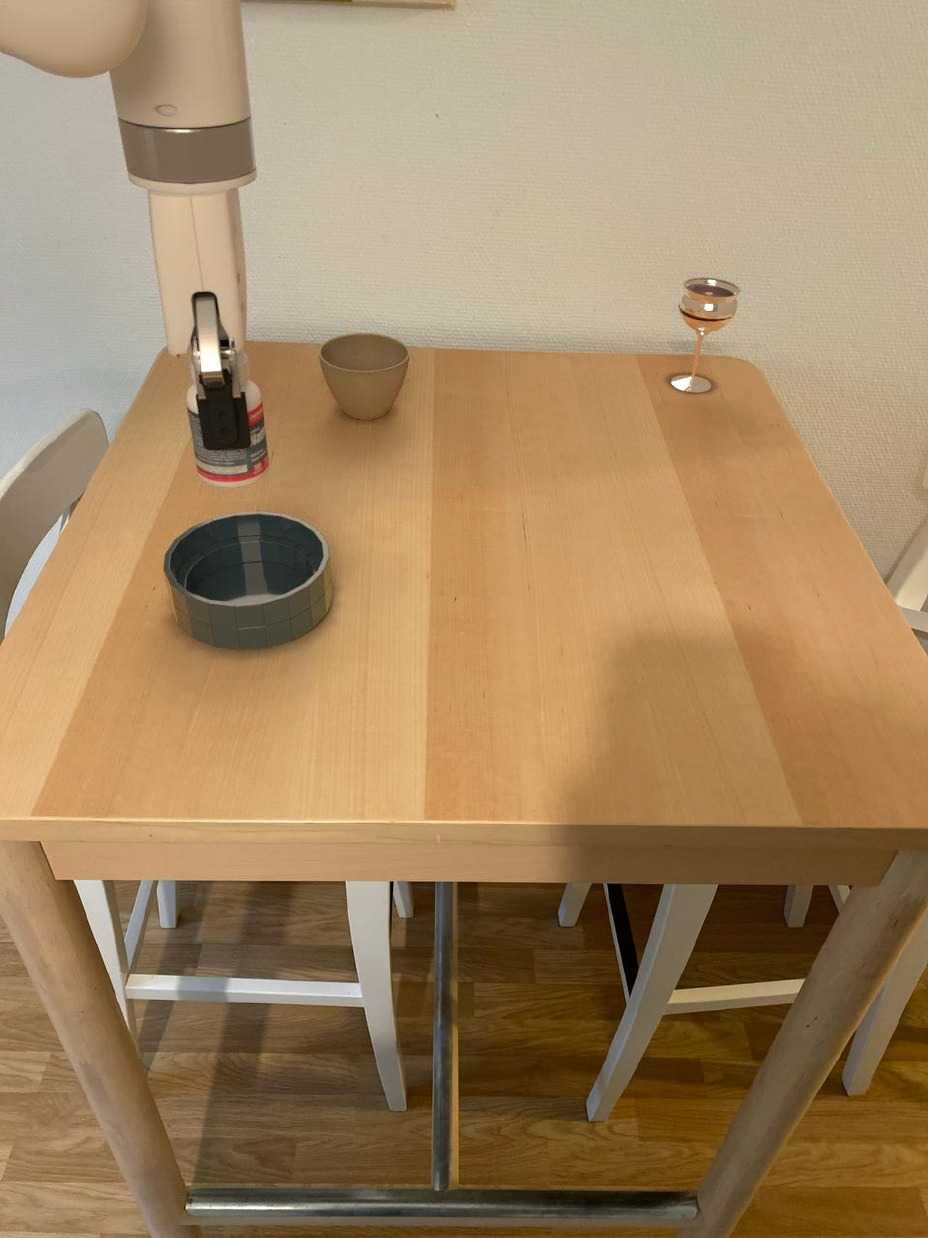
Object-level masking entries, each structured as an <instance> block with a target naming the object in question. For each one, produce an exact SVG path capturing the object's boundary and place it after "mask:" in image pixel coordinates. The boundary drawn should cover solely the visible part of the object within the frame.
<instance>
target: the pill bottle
mask: <svg viewBox="0 0 928 1238" xmlns="http://www.w3.org/2000/svg"><path fill="white" fill-rule="evenodd" d="M221 348H230V347H221ZM237 360H238V370H239V379H240V388H241V392H245V395H246V403H247V412H248V420H249V428H250V436H251V446H250V447H249V448H245V449H227V450H206V449H205V448H204V446H203V439H202V433H201V427H200V421H199V415H198V408H197V402H196V394H197V386H196V378H195V370H194V363H193V357H192V354H191V355H190V356H189V359H188V366H189V372H190V373H189V374H190V377H191V380H192V382H193V383H192V385H191V386H190V387H189V388H188V390H187V392H186V397H185V404H186V409H187V415H188V422H189V427H190V433H191V438H192V445H193V446H192V447H193V452H194V460H195V467H196V471H197V475H198V477H199V478H200V480H202V481H203V482H204V483H206V484H208V485H210V486H213V487H217V488H222V489H236V488H244V487H248V486H250V485H253V484H255V483H258V482H260V481H261V480H263V478H265V477H266V475H267V474H268V472H269V469H270V463H269V462H270V461H269V460H270V459H269V452H268V442H267V441H268V440H267V431H266V425H265V424H266V423H265V414H264V407H263V406H264V405H263V397H262V393H261V390H260V387H258V385H257V384H256V383H255V382H253V381H252V380H251V379H250V378H251V368H250V361H249V355H248V354H247V353H246V352H245V351H243V352H242V353H240V354H239V355H237ZM222 363H223V369H227V368H228V371H229V373H230V369H229V360H228V359H222Z"/></svg>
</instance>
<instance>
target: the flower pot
mask: <svg viewBox="0 0 928 1238" xmlns="http://www.w3.org/2000/svg"><path fill="white" fill-rule="evenodd" d="M317 353H318V359H319V364H320V368H321V371H322V375H323V377H324V380H325V383H326V385H327V387H328V390H329V391H330V394H331V395H332V396H333V398H334V400H335V402H336V403H337V404H338V406H339V407H340V409H341V410H342V412H343V413H344V414H345V415H347V416H348V417H350V418H351V419H355V420H361V421H372V420H377V419H380V418H382V417H384V416H385V415H386V414H387V413H388V412H389V410H390V409H391V407H392V406H393V405H394V403H395V401H396V399H397V397H398V396H399V393H400V391H401V389H402V387H403V384H404V382H405V380H406V376H407V371H408V367H409V362H410V354H411V351H410V348H409V347H408V346H407V344H406V343H404V342H403V341H402V340H399V339H397V338H395V337H392V336H389V335H386V334H381V333H373V332H355V333H354V332H353V333H346V334H341V335H337V336H334V337H331V338H329V339H328V340H326V341H324V342H323V343H322V344H321V345H320V346H319V348H318V352H317Z"/></svg>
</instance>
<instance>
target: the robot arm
mask: <svg viewBox="0 0 928 1238" xmlns="http://www.w3.org/2000/svg"><path fill="white" fill-rule="evenodd" d="M241 6H242V5H241V0H0V53H2V54H4V55H7V56H10V57H13V58H15V59H17V60H20V61H22V62H24V63H26V64H28V65H30V66H32V67H34V68H36V69H38V70H40V71H43V72H45V73H47V74H50V75H53V76H57V77H62V78H66V79H67V78H68V79H88V78H93V77H96V76H100V75H104V74H106V73H107V72H109V73H108V74H109V78H110V83H111V90H112V96H113V100H114V105H115V111H116V115H117V122H118V127H119V133H120V139H121V144H122V150H123V155H124V161H125V167H126V171H127V177H128V181H129V182H130V183H132V184H133V185H135V186H136V187H139V188H141V189H146V190H147V201H148V214H149V224H150V234H151V241H152V242H151V243H152V249H153V255H154V263H155V270H156V277H157V284H158V291H159V298H160V305H161V311H162V318H163V319H162V320H163V325H164V334H165V340H166V341H165V342H166V348H167V352H168V353H169V354H170V355H171V356H172V357H173V358H174V359H178V358H181V357H180V356H181V355H187V354H188V351H189V347H190V346H191V355H192V357H193V363H194V370H195V378H196V386H197V394H196V402H197V408H198V415H199V421H200V427H201V433H202V439H203V446H204V448H205V449H206V450H227V449H245V448H249V447H250V446H251V436H250V428H249V420H248V412H247V403H246V395H245V392H241V388H240V379H239V370H238V360H237V355H239V354H240V353H242V352H244V351H245V349H246V343H247V320H248V319H247V316H248V313H247V312H248V285H247V283H248V282H247V267H246V255H245V254H246V253H245V242H244V230H243V221H242V220H243V219H242V213H241V212H242V211H241V202H240V201H241V200H240V192H239V188H242V187H245V186H247V185H250V184H252V182H254V181H256V179H258V171H257V161H256V150H255V139H254V130H253V129H254V128H253V119H252V110H251V100H250V90H249V79H248V70H247V59H246V48H245V47H246V46H245V37H244V28H243V19H242V16H243V15H242V8H241ZM221 347H230V348H221ZM222 359H228V360H229V369H230V373H229V371H228V368H227V369H223V363H222Z"/></svg>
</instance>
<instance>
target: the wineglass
mask: <svg viewBox="0 0 928 1238" xmlns="http://www.w3.org/2000/svg"><path fill="white" fill-rule="evenodd" d="M682 285H683V288H684V291H683V292H682V294H681V296H680V298H679V301H678V311H679V315H680V318H681V319H682V320H683V321H684V323H685V324H686V326H688V327H689V328H690V329H692V330H694V332H695V334H696V335H697V338H696V345H695V351H694V357H693V363H692V369H691V374H680V375H676V376H674V377H673V378H671V380H670V382H671V384H672V386H673V387H675V388H676V389H678V390H681V391H684V392H689V393H704V392H708V391H709V390H710V389H711V388H712V384H711V383H710V381H709V380H707V379H705V378H703V377H700V376H697V375H695V374H696V371H697V368H698V363H699V359H700V356H701V353H702V348H703V345H704V340H705V337H706V336H708V335H709V334H710V333H713V332H717V331H718V332H719V331H720V330H721V329H722V328H724V327H725V326H727V325H728V324H730V323H731V322H732V321H733V319H734V317H735V315H736V313H737V310H738V299H737V298H738V297H739V295H740V294H741V292H742V291H741V288H740V287H739V286H738V285H737V284H735V283H733V282H731V281H728V280H725V279H720V278H715V277H703V276H702V277H692V278H688V279H686V280H684V281H683V284H682Z"/></svg>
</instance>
